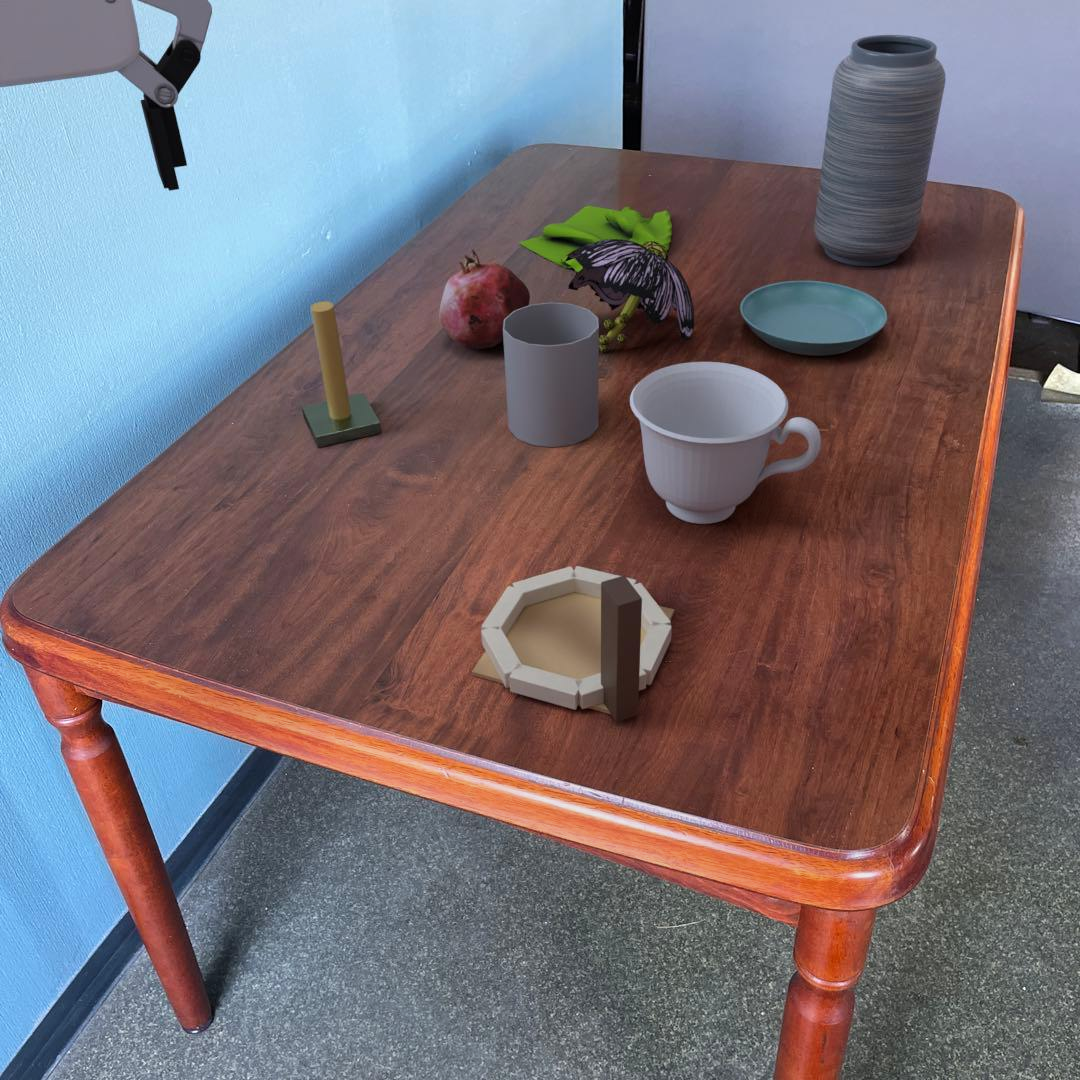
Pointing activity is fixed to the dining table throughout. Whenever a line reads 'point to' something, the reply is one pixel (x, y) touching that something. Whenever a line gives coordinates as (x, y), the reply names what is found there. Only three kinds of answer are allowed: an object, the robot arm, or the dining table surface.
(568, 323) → the cup
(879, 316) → the saucer
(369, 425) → the stand
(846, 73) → the vase
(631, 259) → the decorative flower
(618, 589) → the ring
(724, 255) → the dining table surface
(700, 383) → the teacup
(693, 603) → the dining table surface
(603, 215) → the cloth
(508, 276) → the fruit
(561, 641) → the cork pad
